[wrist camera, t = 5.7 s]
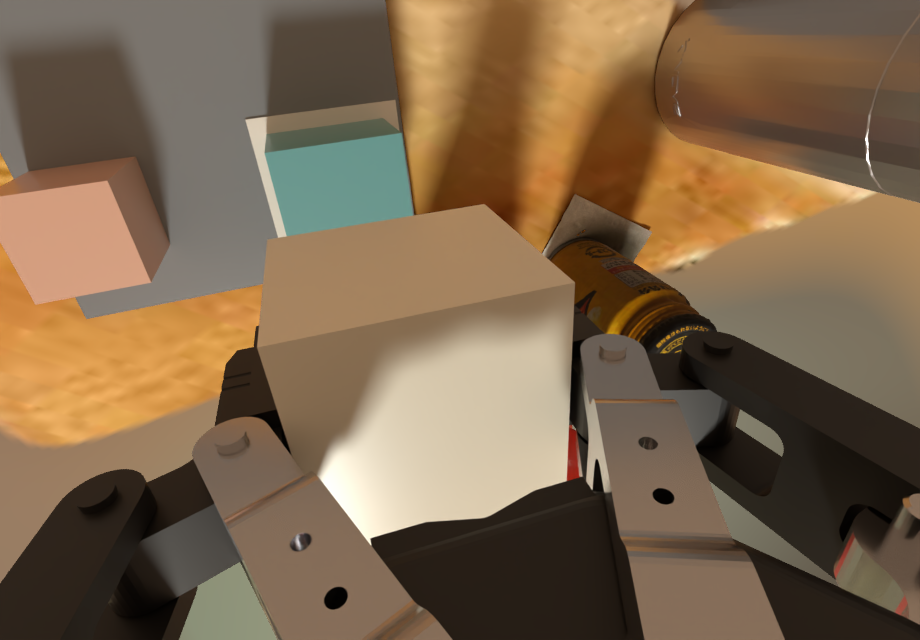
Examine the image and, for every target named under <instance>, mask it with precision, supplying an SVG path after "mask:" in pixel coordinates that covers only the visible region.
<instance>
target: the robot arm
mask: <svg viewBox="0 0 920 640" xmlns="http://www.w3.org/2000/svg"><path fill="white" fill-rule="evenodd" d="M655 96H656V102H657V108H658V111H659V113H660V116H661V118H662V121H663V123H664V124H665V125H666V127H667V128H668V129H669V131H670V132H671V133H672V134H674V135H675V136H676V137H678V138H679V139H681V140H684V141H686V142H689V143H692V144H696V145H700V146H704V147H708V148H711V149H715V150H719V151H723V152H726V153H730V154H733V155H737V156H741V157H745V158H748V159H752V160H756V161H760V162H764V163H768V164H772V165H775V166H779V167H783V168H787V169H791V170H795V171H798V172H802V173H806V174H810V175H814V176H818V177H821V178H825V179H829V180H833V181H837V182H841V183H844V184H848V185H852V186H856V187H860V188H864V189H867V190H871V191H875V192H879V193H883V194H887V195H891V196H896V197H900V198H903V199H907V200H911V201H915V202H919V203H920V0H695V1H694V2H693V3H692V4H691V5H690V6H689V7H688V8H687V9H686V10H685V11H684V12H683V13H682V14H681V16H680V17H679V18H678V20H677V21H676V23H675V24H674V25H673V27H672V29H671V31H670V33H669V35H668V37H667V38H666V40H665V42H664V45H663V48H662V51H661V54H660V57H659V60H658V65H657V71H656V76H655ZM258 332H259V326H256V331H255V340H254V347H252V348H247V349H242V350H237V352H236V353H235V354H234V355H233V356H232V358H231V359H230V360H229V361H228V362H227V364H226V367H225V372H224V380H223V383H222V392H221V394H220V400H219V405H218V411H217V416H216V422H215V427H213V428H211V429H210V430H209V431H207V432H206V433H205V434H204V435H203V436H202V437H201V438H200V439H199V440H198V441H197V442H196V444H195V446H194V449H193V452H192V456H193V460H191V461H190V462H188V463H187V464H185V465H183V466H182V467H180V468H178V469H176V470H174V471H171V472H169V473H167V474H165V475H163V476H160V477H158V478H156V479H154V480H152V481H150V482H146V480H145V479H144V477H143V475H141V473H139V472H137V471H134V470H129V469H121V470H114V471H110V472H106V473H103V474H100V475H98V476H95V477H93V478H91V479H89V480H87V481H85V482H84V483H82V484H80V485H79V486H77V487H76V488H74V489H73V490H72V491H71V492H69V493H68V494H67V495H66V496H65V497H64V498H63V499H62V500H61V501H60V503H59V504H58V505H57V506H56V508H55V509H54V510H53V512H52V513H51V515H50V516H49V517H48V519H47V520H46V521H45V523H44V524H43V525H42V527H41V528H40V530H39V531H38V533H37V534H36V535H35V536H34V538H33V539H32V541H31V542H30V543H29V545H28V546H27V547H26V549H25V550H24V552H23V553H22V554H21V556H20V557H19V558H18V560H17V561H16V563H15V564H14V565H13V567H12V568H11V569H10V571H9V572H8V574H7V575H6V577H5V578H4V579H3V580H2V582H1V583H0V640H179V638H180V635H181V632H182V630H183V627H184V624H185V621H186V619H187V616H188V613H189V611H190V608H191V605H192V603H193V600H194V597H195V595H196V591H197V586H198V585H200V584H201V583H203V582H205V581H207V580H209V579H210V578H212V577H214V576H216V575H217V574H219V573H220V572H223V571H224V570H226V569H228V568H230V567H231V566H233V565H235V564H237V563H238V562H240V563H241V565H242V567H243V569H244V571H245V573H246V576H247V578H248V580H249V582H250V584H251V586H252V588H253V590H254V592H255V594H256V596H257V598H258V600H259V603H260V605H261V606H262V609H263V611H264V613H265V615H266V617H267V619H268V621H269V623H270V625H271V627H272V630H273V632H274V634H275V636H276V638H277V640H920V429H919V428H918V427H915V426H913V425H912V424H910V423H908V422H906V421H904V420H901V419H899V418H898V417H895V416H894V415H891V414H889V413H887V412H885V411H883V410H881V409H880V408H877V407H876V406H873V405H872V404H870V403H868V402H865V401H863V400H862V399H860V398H858V397H855V396H854V395H852V394H850V393H847V392H845V391H844V390H841V389H839V388H838V387H836V386H834V385H831V384H829V383H827V382H826V381H824V380H822V379H820V378H818V377H816V376H814V375H812V374H810V373H808V372H805V371H804V370H802V369H800V368H798V367H796V366H793V365H792V364H790V363H788V362H786V361H784V360H782V359H779V358H778V357H776V356H774V355H772V354H770V353H768V352H765V351H764V350H762V349H760V348H758V347H755V346H754V345H752V344H750V343H748V342H746V341H744V340H741V339H740V338H737V337H735V336H732V335H730V334H726V333H721V332H715V331H701V332H695V333H692V334H690V335H688V336H687V337H685V338H684V340H683V343H682V349H681V353H646V350H645V349H644V347H643V346H642V345H641V344H640V343H639V342H637V341H636V340H634V339H632V338H629V337H626V336H623V335H617V334H605V333H604V332H603V331H601V330H600V329H599V328H598V327H597V326H596V325H595V324H594V323H593V322H592V321H591V320H590V319H589V318H588V317H587V316H586V315H585V314H584V313H581V311H580V310H579V309H578V308H577V307H576V306H574V318H573V341H572V365H571V389H570V413H569V425H574V427H575V428H576V452H577V460H578V469H579V478H576V479H572V480H569V481H565V482H562V483H558V484H555V485H552V486H548V487H545V488H541V489H538V490H534V491H533V492H531V493H529V494H527V495H526V496H524V497H522V498H520V499H518V500H517V501H515V502H513V503H511V504H510V505H508V506H506V507H504V508H503V509H501V510H499V511H497V512H496V513H494V514H492V515H490V516H488V517H485V518H477V519H463V520H448V521H433V522H424V523H421V524H417V525H414V526H411V527H407V528H404V529H400V530H397V531H393V532H390V533H387V534H383V535H380V536H376V537H373V538H370V540H371V545H370V544H369V542H368V541H367V540H366V538H365V537H364V536H363V534H362V533H361V532H360V530H359V529H358V528H357V527H356V525H355V524H354V523H353V521H352V520H351V519H350V517H349V516H348V515H347V514H346V512H345V511H344V510H343V508H342V507H341V506H340V504H339V503H338V502H337V501H336V499H335V498H334V497H333V495H332V494H331V493H330V491H329V490H328V489H327V487H326V486H325V485H324V484H323V482H322V481H321V480H320V478H319V477H318V476H317V475H316V474H315V473H314V472H312V471H311V472H309V473H307V474H304V472H303V471H302V470H301V468H300V467H299V466H298V464H297V463H296V461H295V460H294V459H293V457H292V455H291V452H290V449H289V445H288V442H287V439H286V436H285V433H284V430H283V427H282V424H281V420H280V417H279V414H278V411H277V408H276V405H275V402H274V399H273V396H272V392H271V389H270V386H269V383H268V380H267V377H266V374H265V371H264V368H263V364H262V361H261V358H260V355H259V352H258V349H257V343H258ZM740 409H741V410H743V411H744V412H746V413H747V414H749V415H751V416H752V417H754V418H755V419H757V420H759V421H760V422H762V423H764V424H765V425H767V426H768V427H770V428H771V429H773V430H774V431H775V432H776V433H777V434H778V435H779V437H780V438H781V440H782V443H783V445H784V453H783V456H782V457H781V456H780V455H778V454H776V453H775V452H773V451H772V450H771V449H769V448H767V447H766V446H764V445H763V444H761V443H760V442H758V441H757V440H755V439H754V438H752V437H751V436H749V435H748V434H746V433H745V432H743V431H742V430H740V429H739V428H737V427H736V422H737V419H738V415H739V411H740ZM709 481H710V482H712V483H713V484H714V485H715V486H717V487H718V488H719V489H720V490H722V491H723V492H724V493H726V494H727V495H728V496H730V497H731V498H732V499H733V500H735V501H736V502H737V503H738V504H740V505H741V506H742V507H743V508H745V509H746V510H747V511H749V512H750V513H751V514H752V515H754V516H755V517H756V518H758V519H759V520H760V521H761V522H763V523H764V524H765V525H767V526H768V527H769V528H770V529H772V530H773V531H774V532H775V533H777V534H778V535H779V536H781V537H782V538H783V539H784V540H786V541H787V542H788V543H789V544H791V545H792V546H793V547H795V548H796V549H797V550H799V551H800V552H801V553H802V554H804V555H805V556H806V557H807V558H809V559H810V560H811V561H812V562H814V563H815V564H816V565H818V566H819V567H820V568H821V569H823V570H824V571H825V572H827V573H828V574H829V575H830V576H832V577H833V578H834V579H836V581H837V583H838V585H839V586H840V587H838V586H835V585H833V584H831V583H829V582H826V581H825V580H822V579H820V578H818V577H816V576H813V575H811V574H809V573H807V572H805V571H803V570H800V569H798V568H796V567H794V566H792V565H789V564H787V563H785V562H782V561H780V560H778V559H776V558H774V557H772V556H770V555H767V554H765V553H763V552H760V551H759V550H756V549H754V548H752V547H750V546H747V545H745V544H743V543H741V542H739V541H737V540H734V539H732V537H731V535H730V532H729V530H728V527H727V525H726V522H725V520H724V517H723V515H722V512H721V510H720V508H719V505H718V502H717V500H716V497H715V495H714V492H713V489H712V487H711V484H710V482H709Z"/></svg>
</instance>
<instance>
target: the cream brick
mask: <svg viewBox="0 0 920 640" xmlns="http://www.w3.org/2000/svg"><path fill="white" fill-rule="evenodd" d="M574 294H575V282H574V281H573V280H572V279H570V278H569V277H568V276H567V275H566V274H565V273H564V272H562V271H561V270H560V269H559V268H558V267H557V266H555V265H554V264H553V263H552V262H551V261H550V260H549V259H547V258H546V257H545V256H544V255H543V254H542V253H540V252H539V251H538V250H537V249H536V248H535V247H534V246H532V245H531V244H530V243H529V242H528V241H527V240H525V239H524V238H523V237H522V236H521V235H520V234H519V233H517V232H516V231H515V230H514V229H513V228H512V227H510V226H509V225H508V224H507V223H506V222H505V221H504V220H502V219H501V218H500V217H499V216H498V215H497V214H495V213H494V212H493V211H492V210H491V209H490V208H489V207H487V206H486V205H485V204H481V205H475V206H469V207H463V208H457V209H451V210H445V211H439V212H432V213H426V214H420V215H414V216H408V217H402V218H396V219H390V220H384V221H377V222H371V223H365V224H359V225H353V226H347V227H341V228H335V229H329V230H323V231H316V232H310V233H304V234H298V235H292V236H286V237H280V238H274V239H268V240H267V248H266V259H265V269H264V280H263V290H262V301H261V311H260V322H259V332H258V343H257V349H258V352H259V355H260V358H261V361H262V364H263V368H264V371H265V374H266V377H267V380H268V383H269V386H270V389H271V392H272V396H273V399H274V402H275V405H276V408H277V411H278V414H279V417H280V420H281V424H282V427H283V430H284V433H285V436H286V439H287V442H288V445H289V449H290V452H291V455H292V457H293V459H294V460H295V461H296V463H297V464H298V466H299V467H300V468H301V470H302V471H303V472H304V474H307V473H309V472H311V471H312V472H314V473H315V474H316V475H317V476H318V477H319V478H320V480H321V481H322V482H323V484H324V485H325V486H326V487H327V489H328V490H329V491H330V493H331V494H332V495H333V497H334V498H335V499H336V501H337V502H338V503H339V504H340V506H341V507H342V508H343V510H344V511H345V512H346V514H347V515H348V516H349V517H350V519H351V520H352V521H353V523H354V524H355V525H356V527H357V528H358V529H359V530H360V532H361V533H362V534H363V536H364V537H365V538H366V540H367V541H368V542H369V544H370V545H371V540H370V538H373V537H376V536H380V535H383V534H387V533H390V532H393V531H397V530H400V529H404V528H407V527H411V526H414V525H417V524H421V523H424V522H433V521H448V520H463V519H477V518H485V517H488V516H490V515H492V514H494V513H496V512H497V511H499V510H501V509H503V508H504V507H506V506H508V505H510V504H511V503H513V502H515V501H517V500H518V499H520V498H522V497H524V496H526V495H527V494H529V493H531V492H533V491H534V490H538V489H541V488H545V487H548V486H552V485H555V484H558V483H562V482H565V481H567V461H568V437H569V413H570V389H571V365H572V341H573V318H574Z"/></svg>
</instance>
